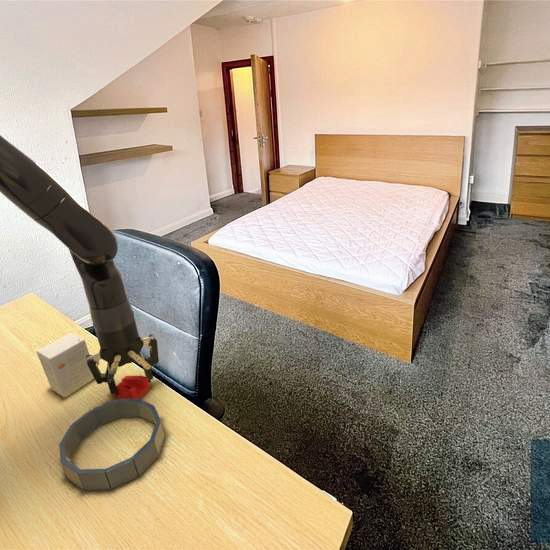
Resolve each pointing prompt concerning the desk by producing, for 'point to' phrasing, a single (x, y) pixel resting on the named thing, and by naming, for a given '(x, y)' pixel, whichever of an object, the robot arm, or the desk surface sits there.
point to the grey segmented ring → (119, 471)
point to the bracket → (132, 387)
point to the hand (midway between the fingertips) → (132, 386)
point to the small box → (66, 364)
